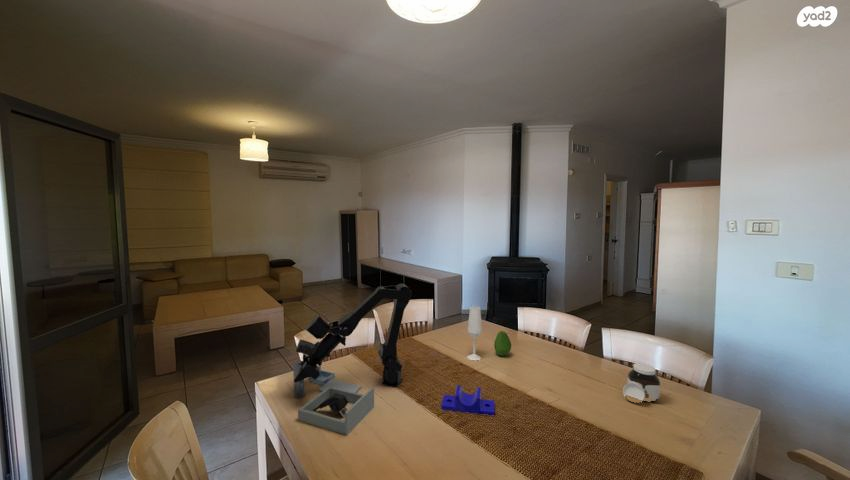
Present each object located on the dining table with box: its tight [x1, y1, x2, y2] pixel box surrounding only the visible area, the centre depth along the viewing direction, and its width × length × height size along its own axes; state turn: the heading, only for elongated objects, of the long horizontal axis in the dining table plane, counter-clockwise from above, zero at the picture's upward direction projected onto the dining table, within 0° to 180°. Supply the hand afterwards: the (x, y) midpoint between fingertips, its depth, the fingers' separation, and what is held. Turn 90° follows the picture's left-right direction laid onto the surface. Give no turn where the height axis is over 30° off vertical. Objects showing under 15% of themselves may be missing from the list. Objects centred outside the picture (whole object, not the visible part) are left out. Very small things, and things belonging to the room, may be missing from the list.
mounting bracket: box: [440, 384, 496, 416], centre depth 115 cm, size 18×7×6 cm, turn 79°
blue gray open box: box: [307, 365, 336, 386], centre depth 133 cm, size 8×7×4 cm
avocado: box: [493, 330, 512, 357], centre depth 157 cm, size 8×8×12 cm
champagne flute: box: [466, 305, 483, 362], centre depth 154 cm, size 7×7×24 cm
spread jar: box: [622, 362, 661, 403], centre depth 121 cm, size 12×11×12 cm
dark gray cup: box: [293, 360, 306, 399], centre depth 120 cm, size 4×4×12 cm
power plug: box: [313, 393, 349, 418], centre depth 110 cm, size 6×8×12 cm
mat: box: [317, 379, 362, 393], centre depth 125 cm, size 14×8×1 cm, turn 69°
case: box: [297, 386, 375, 436], centre depth 110 cm, size 19×16×7 cm
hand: (294, 379), depth 120 cm, fingers closed on dark gray cup, 4 cm apart
